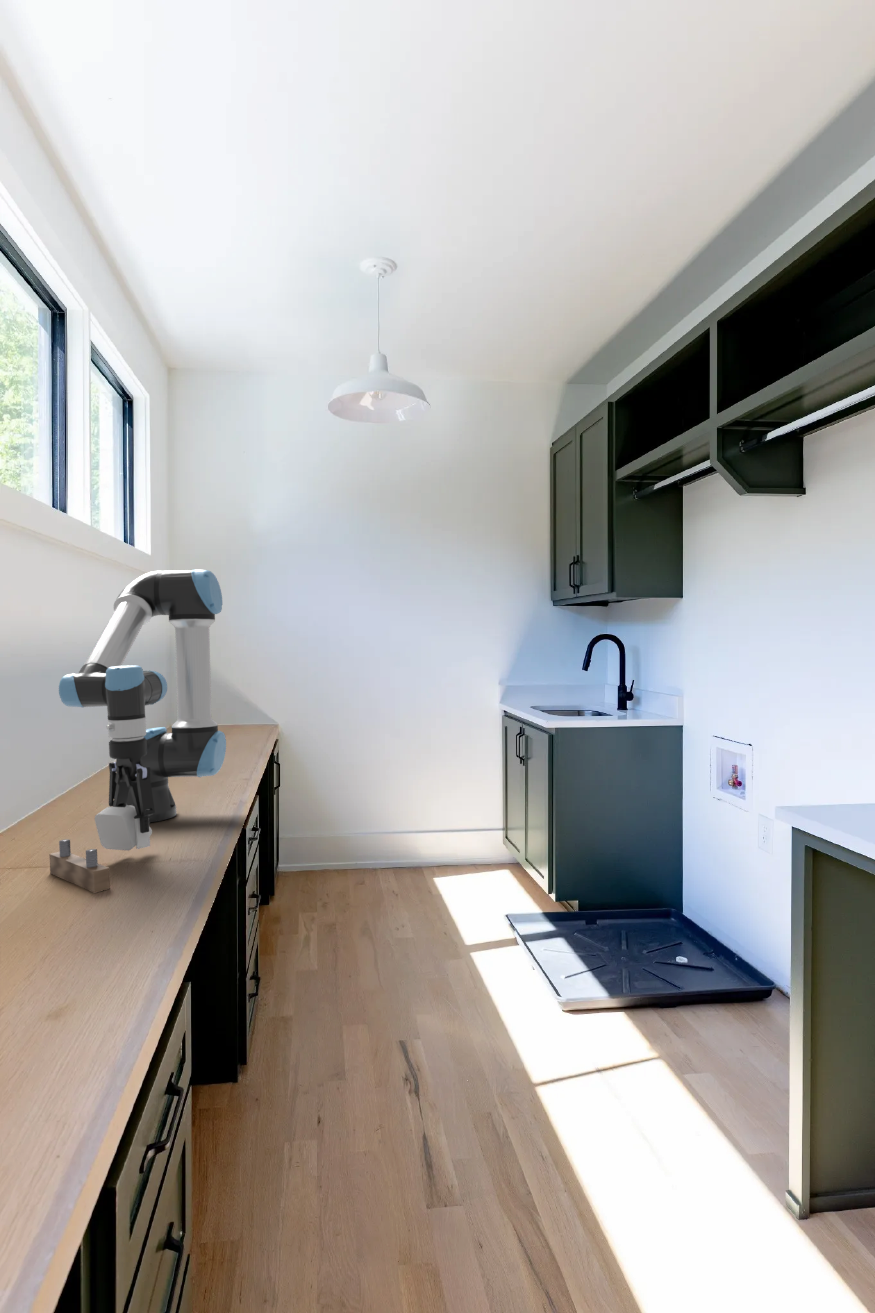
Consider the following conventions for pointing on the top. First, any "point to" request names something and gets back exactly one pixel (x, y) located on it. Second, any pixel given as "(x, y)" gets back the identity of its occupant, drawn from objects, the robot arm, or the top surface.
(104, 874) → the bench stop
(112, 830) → the white knobbed block
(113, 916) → the top surface
